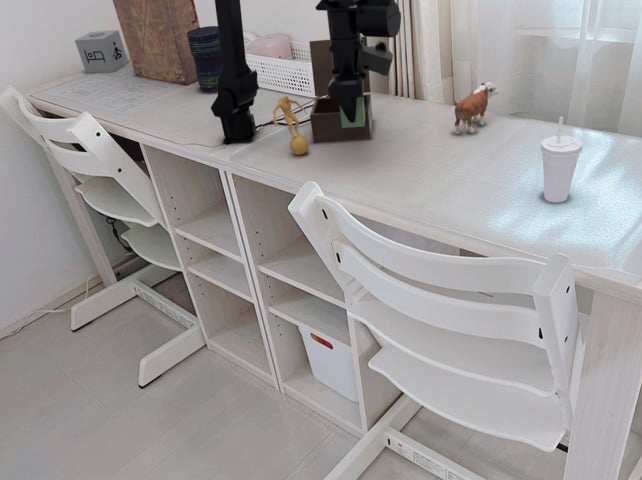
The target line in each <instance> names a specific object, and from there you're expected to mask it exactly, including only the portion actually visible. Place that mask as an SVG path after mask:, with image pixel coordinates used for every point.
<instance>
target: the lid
mask: <svg viewBox="0 0 642 480" xmlns="http://www.w3.org/2000/svg"><path fill="white" fill-rule="evenodd" d="M361 37H362V39H364V45H365V46H368V37H365V36H361ZM308 43H309V51H310V63H311V70H312V81H313V89H314V90H313V91H314V97H329V92H328V86H329V83H330V81H331V80H332V78H333V77H334V76H337V75H339V74H333V75H332V67H333V61H332V52H330V49H329V45H330V38H328V39H318V40H309V42H308ZM364 73H367V75H366V78H365V80H364V81H363V83H364V92H363V94H369V93H371V77H370V70H364Z"/></svg>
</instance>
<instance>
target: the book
mask: <svg viewBox="0 0 642 480" xmlns="http://www.w3.org/2000/svg"><path fill="white" fill-rule="evenodd" d="M112 2H113V6H114V9H115V13H116V16H117V19H118V22H119V25H120V29H121V32H122V37H123V39H124V42H125V45H126V48H127V51H128V55H129V58H130V61H131V65H132V67H133V71H134V74H135V76H136V77H141V78H142V77H143V78H148V79H153V80H159V81H165V82H168V83H169V82H170V83H176V84H181V85H190V84H193V83H194V82H198V80H197V75H196V66H195V62H194V58H193V56H192V54H191V50H190V47H189V42H188V37H187V32H189V31H191V30H193V29H197V28H201V26H200V21H199V17H198V12H197V8H196V4H195V0H112ZM192 21H196V23H192Z"/></svg>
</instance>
